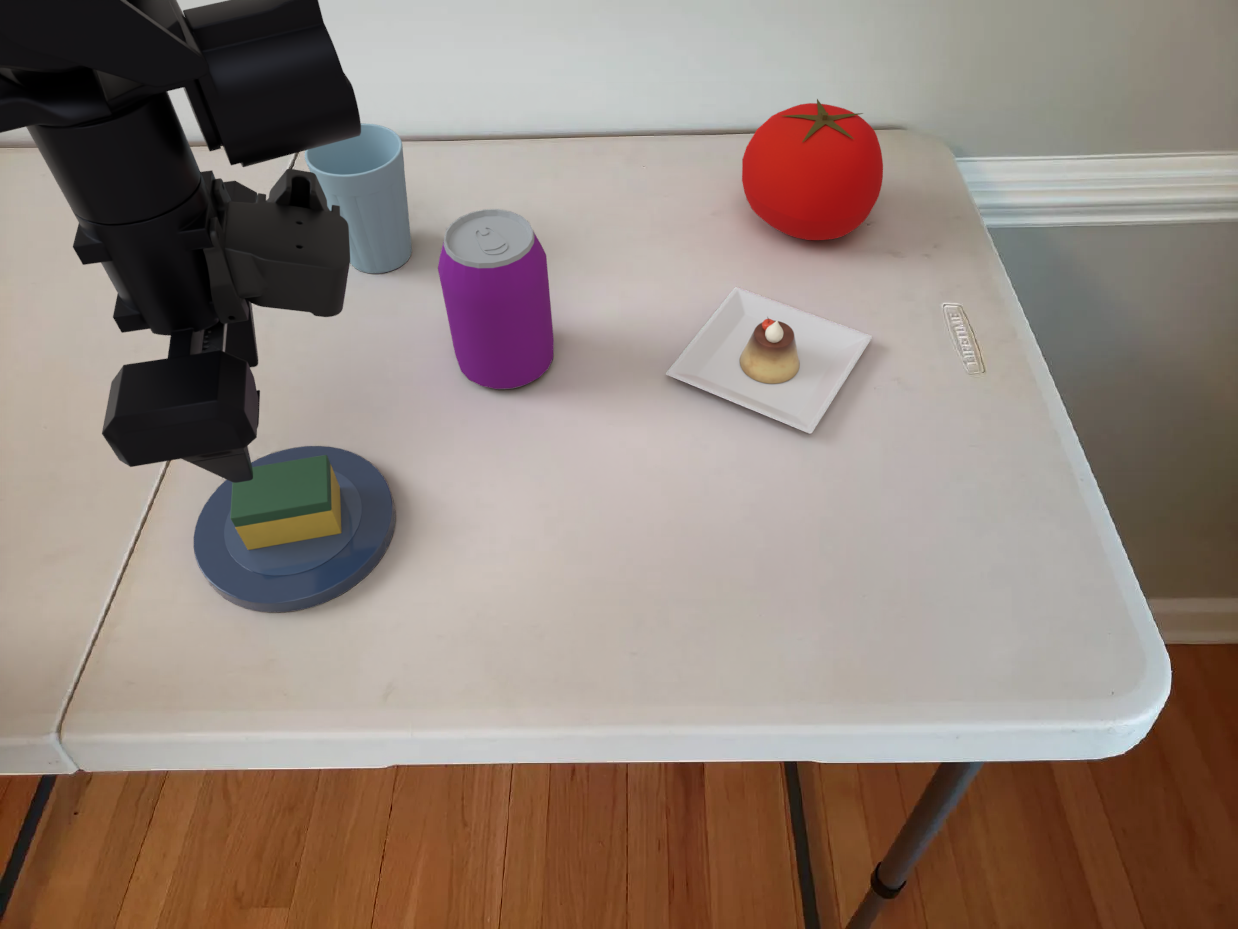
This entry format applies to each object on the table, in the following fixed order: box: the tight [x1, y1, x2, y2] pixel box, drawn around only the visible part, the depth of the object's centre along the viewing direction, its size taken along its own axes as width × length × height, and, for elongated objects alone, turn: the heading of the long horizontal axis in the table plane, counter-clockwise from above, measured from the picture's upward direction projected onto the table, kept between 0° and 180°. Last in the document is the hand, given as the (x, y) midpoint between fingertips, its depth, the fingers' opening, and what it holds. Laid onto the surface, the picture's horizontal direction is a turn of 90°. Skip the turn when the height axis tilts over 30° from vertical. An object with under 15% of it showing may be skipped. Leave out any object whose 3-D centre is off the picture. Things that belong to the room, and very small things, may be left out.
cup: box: [304, 122, 413, 274], centre depth 77 cm, size 8×8×10 cm
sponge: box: [230, 455, 341, 550], centre depth 60 cm, size 6×4×4 cm, turn 102°
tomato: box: [741, 98, 884, 241], centre depth 80 cm, size 12×12×10 cm
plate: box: [193, 445, 396, 613], centre depth 62 cm, size 13×13×1 cm
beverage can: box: [437, 208, 555, 390], centre depth 68 cm, size 8×8×12 cm
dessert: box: [665, 286, 873, 434], centre depth 70 cm, size 12×12×5 cm
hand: (247, 419), depth 54 cm, fingers open, 9 cm apart
